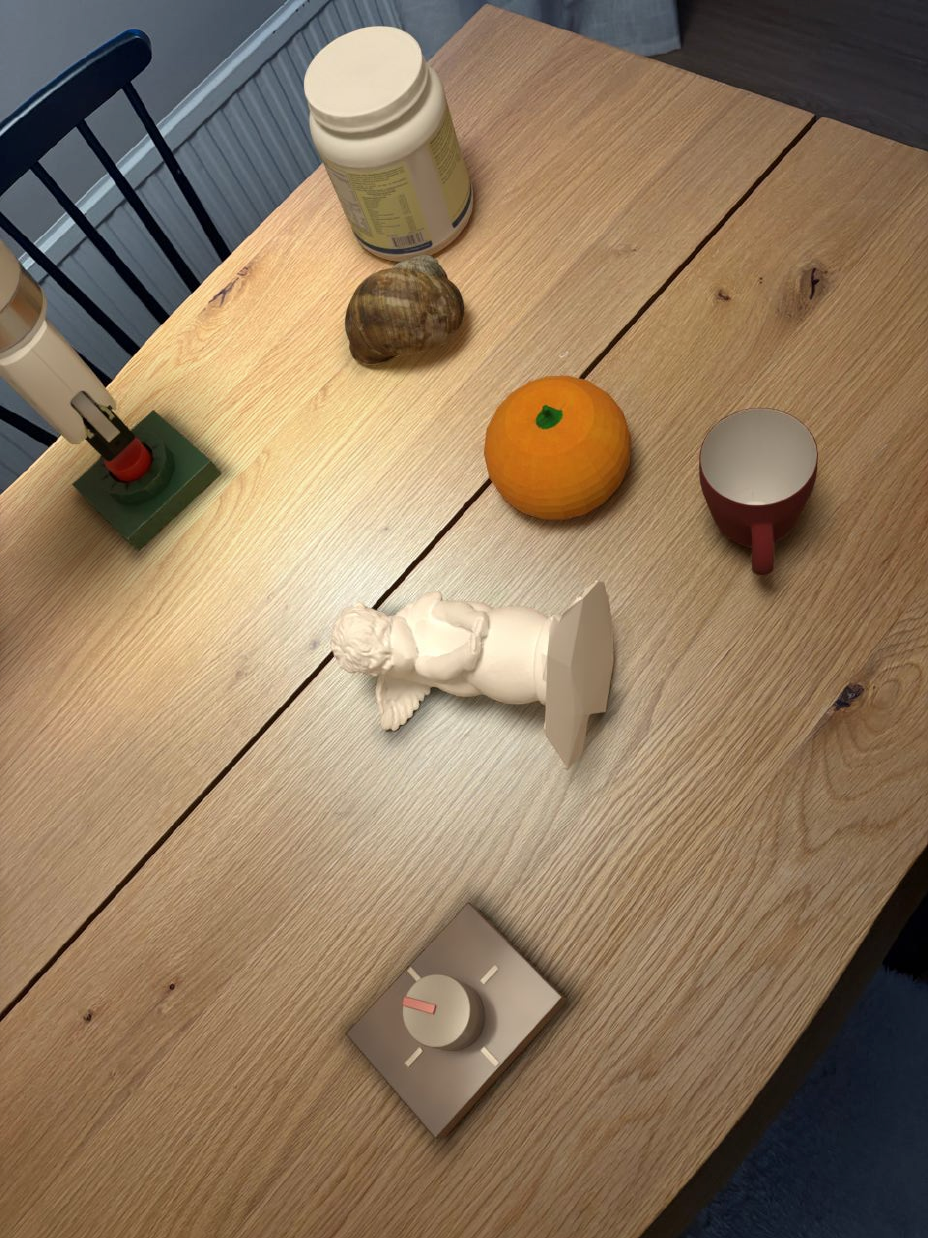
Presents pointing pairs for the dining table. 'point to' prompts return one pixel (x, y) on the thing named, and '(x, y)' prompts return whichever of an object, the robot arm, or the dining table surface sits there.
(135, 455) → the button
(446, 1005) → the dial
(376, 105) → the supplement tub
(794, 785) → the dining table surface
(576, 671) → the angel figurine
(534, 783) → the dining table surface
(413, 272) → the seashell
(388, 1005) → the dial panel
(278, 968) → the dining table surface
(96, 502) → the box
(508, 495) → the fruit
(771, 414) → the mug
